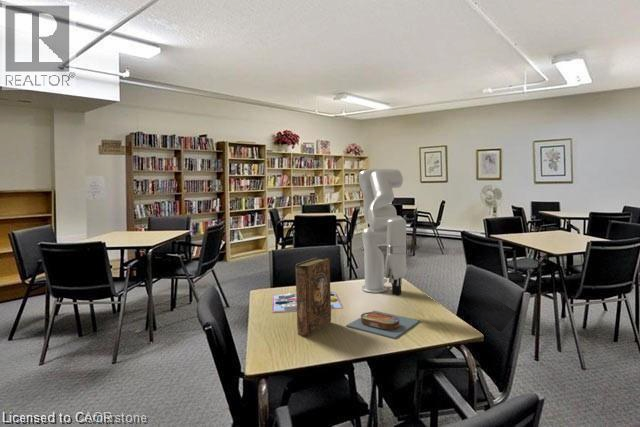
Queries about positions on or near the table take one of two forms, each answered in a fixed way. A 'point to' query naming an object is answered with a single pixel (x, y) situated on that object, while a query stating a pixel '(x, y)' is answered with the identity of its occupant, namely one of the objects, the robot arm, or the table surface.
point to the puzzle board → (290, 302)
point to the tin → (380, 320)
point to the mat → (403, 327)
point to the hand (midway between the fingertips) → (396, 294)
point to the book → (313, 295)
